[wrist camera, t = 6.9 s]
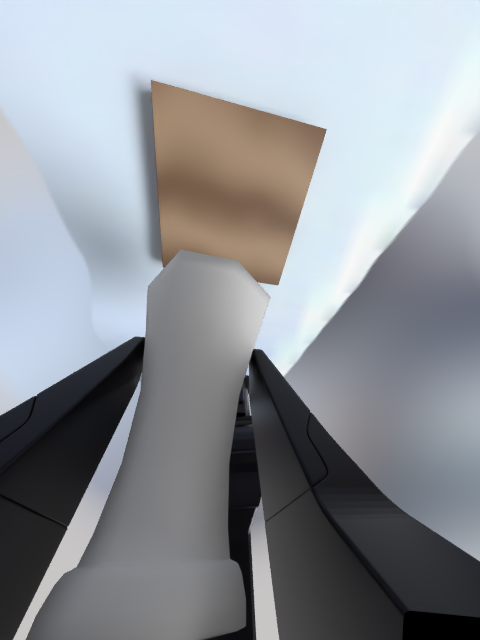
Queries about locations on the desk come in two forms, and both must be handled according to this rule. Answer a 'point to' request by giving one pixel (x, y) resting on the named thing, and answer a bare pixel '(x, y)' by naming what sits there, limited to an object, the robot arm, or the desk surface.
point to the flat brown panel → (230, 179)
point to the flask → (171, 473)
